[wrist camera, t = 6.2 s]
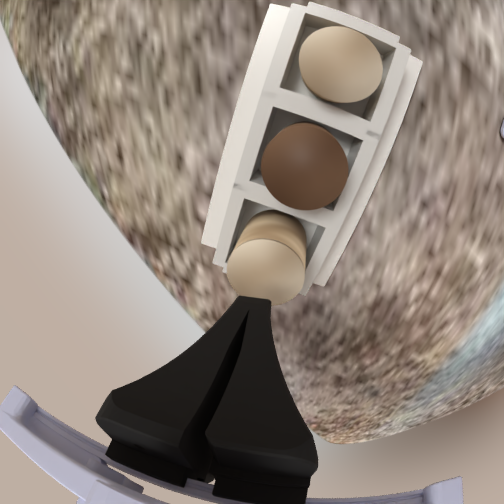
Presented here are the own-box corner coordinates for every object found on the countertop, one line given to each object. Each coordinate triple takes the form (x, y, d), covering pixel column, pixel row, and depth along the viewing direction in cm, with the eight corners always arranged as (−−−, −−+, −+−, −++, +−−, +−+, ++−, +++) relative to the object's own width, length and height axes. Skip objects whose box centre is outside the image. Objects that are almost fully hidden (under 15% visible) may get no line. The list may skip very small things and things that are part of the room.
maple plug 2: (374, 58, 12) (392, 47, 9) (354, 113, 15) (368, 115, 11) (311, 34, 12) (312, 15, 9) (292, 89, 15) (288, 85, 11)
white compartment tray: (418, 63, 12) (440, 56, 9) (323, 280, 22) (324, 309, 19) (272, 7, 12) (263, -12, 9) (204, 238, 22) (187, 261, 19)
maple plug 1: (316, 223, 17) (317, 257, 13) (293, 274, 19) (287, 314, 15) (253, 200, 17) (237, 228, 13) (236, 254, 19) (219, 290, 15)
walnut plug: (349, 136, 14) (361, 146, 11) (325, 196, 17) (328, 222, 13) (283, 112, 15) (276, 113, 11) (263, 173, 17) (250, 193, 13)
